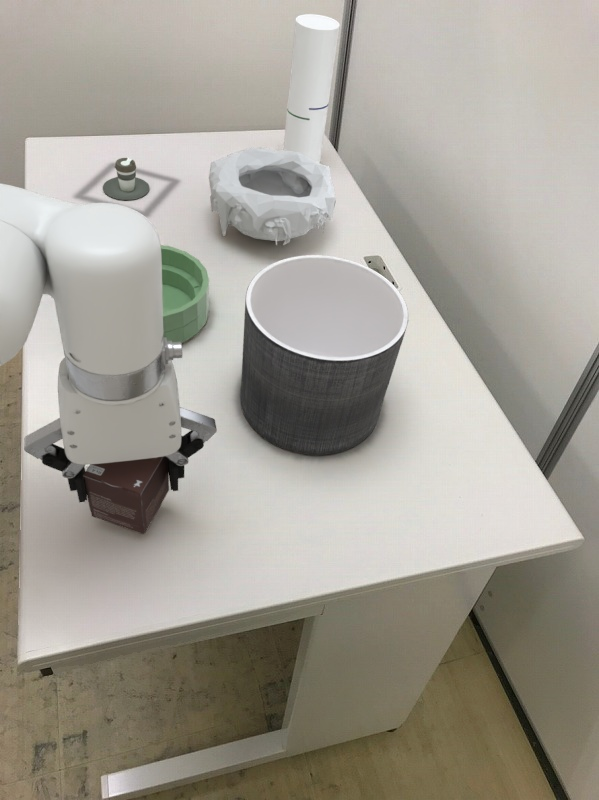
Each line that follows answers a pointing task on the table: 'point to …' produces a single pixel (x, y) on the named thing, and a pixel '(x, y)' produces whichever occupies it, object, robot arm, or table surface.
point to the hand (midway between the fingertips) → (128, 484)
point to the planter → (319, 352)
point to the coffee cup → (126, 182)
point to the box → (127, 491)
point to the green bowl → (183, 294)
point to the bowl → (271, 193)
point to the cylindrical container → (310, 84)
